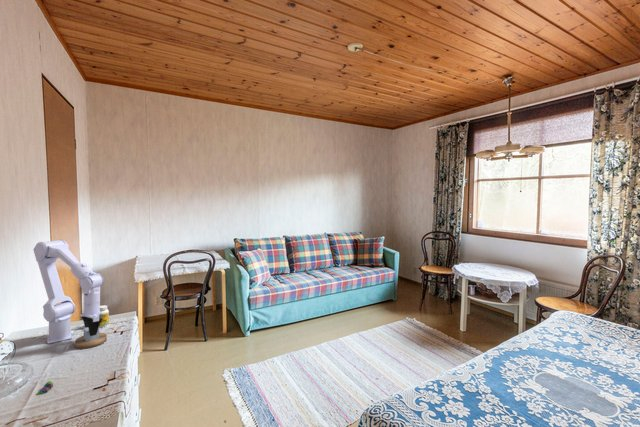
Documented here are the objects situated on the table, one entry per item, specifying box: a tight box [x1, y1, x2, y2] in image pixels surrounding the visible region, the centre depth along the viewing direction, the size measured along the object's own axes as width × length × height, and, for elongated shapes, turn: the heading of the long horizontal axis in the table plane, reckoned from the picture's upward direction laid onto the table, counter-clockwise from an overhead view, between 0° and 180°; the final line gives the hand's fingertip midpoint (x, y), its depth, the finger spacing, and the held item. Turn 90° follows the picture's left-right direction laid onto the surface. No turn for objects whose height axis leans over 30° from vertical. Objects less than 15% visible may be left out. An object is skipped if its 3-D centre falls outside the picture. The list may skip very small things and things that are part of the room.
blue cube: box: [82, 327, 100, 342], centre depth 128 cm, size 4×4×4 cm
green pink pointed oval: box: [35, 381, 54, 396], centre depth 96 cm, size 4×3×2 cm, turn 15°
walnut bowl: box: [74, 332, 107, 350], centre depth 128 cm, size 11×11×2 cm
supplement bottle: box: [99, 305, 110, 328], centre depth 145 cm, size 5×5×10 cm
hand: (91, 332), depth 128 cm, fingers open, 6 cm apart
